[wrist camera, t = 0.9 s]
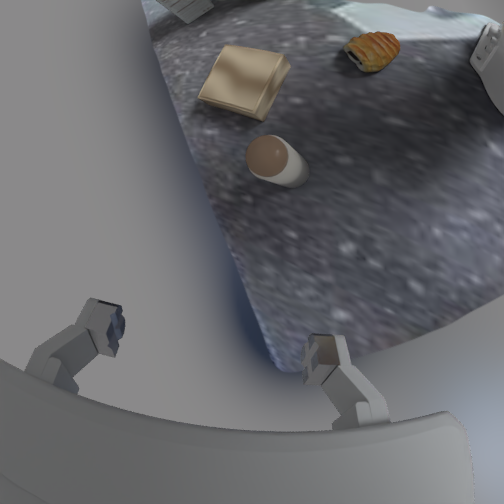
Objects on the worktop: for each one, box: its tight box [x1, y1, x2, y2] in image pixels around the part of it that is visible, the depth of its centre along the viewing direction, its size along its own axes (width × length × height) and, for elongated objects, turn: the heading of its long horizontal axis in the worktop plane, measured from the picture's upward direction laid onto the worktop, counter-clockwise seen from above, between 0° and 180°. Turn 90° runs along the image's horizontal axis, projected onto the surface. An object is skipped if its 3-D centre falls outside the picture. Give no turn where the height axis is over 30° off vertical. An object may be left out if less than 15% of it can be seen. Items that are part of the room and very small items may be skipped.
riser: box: [198, 44, 291, 122], centre depth 38 cm, size 11×11×4 cm
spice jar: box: [246, 135, 309, 188], centre depth 34 cm, size 5×5×12 cm
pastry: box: [343, 32, 400, 72], centre depth 30 cm, size 9×7×4 cm
